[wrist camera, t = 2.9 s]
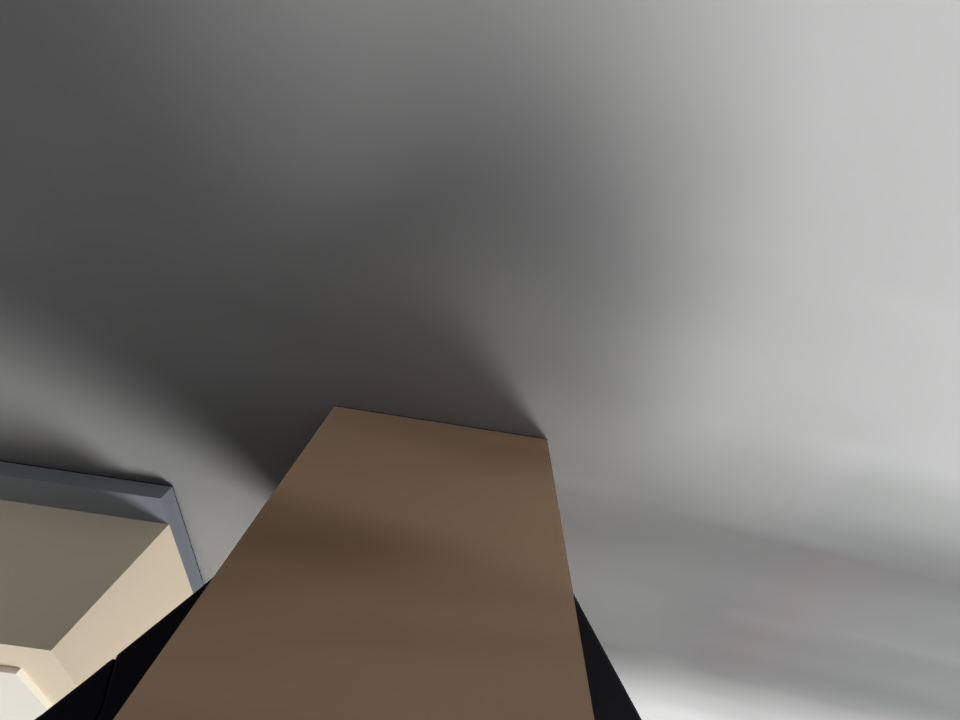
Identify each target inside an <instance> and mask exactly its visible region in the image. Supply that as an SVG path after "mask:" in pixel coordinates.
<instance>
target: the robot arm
mask: <svg viewBox="0 0 960 720" xmlns="http://www.w3.org/2000/svg"><path fill="white" fill-rule="evenodd" d="M212 579H213V578H212ZM212 579H211V580H212ZM211 580H210V581H208V582H207V583H206V584H205V585H203V586H202V587H201V588H200V589H198V590H197V591H196V592H195V593H193V594H192V595H191V596H190V597H188V598H187V599H186V600H185V601H183V602H182V603H181V604H180V605H179V606H177V607H176V608H175V609H174V610H172V611H171V612H170V613H169V614H167V615H166V616H165V617H164V618H162V619H161V620H160V621H159V622H157V623H156V624H155V625H154V626H152V627H151V628H150V629H149V630H147V631H146V632H145V633H144V634H143V635H141V636H140V637H139V638H138V639H136V640H135V641H134V642H133V643H131V644H130V645H129V646H128V647H126V648H125V649H124V650H123V651H121V652H120V653H119V654H118V655H117V656H116V659H112V660H110V661H109V662H107V663H106V664H105V665H104V666H103V667H101V668H100V669H99V670H98V671H96V672H95V673H94V674H93V675H91V676H90V677H89V678H88V679H86V680H85V681H84V682H83V683H81V684H80V685H79V686H77V687H76V688H75V689H74V690H72V691H71V692H70V693H68V694H67V695H66V696H65V697H63V698H62V699H61V700H60V701H58V702H57V703H56V704H54V705H53V706H52V707H51V708H49V709H48V710H47V711H45V712H44V713H43V714H42V715H40V716H39V717H37V718H36V719H35V720H113V719H114V718H115V716H116V715H117V713H118V712H119V711H120V709H121V708H122V706H123V705H124V703H125V702H126V701H127V699H128V698H129V696H130V695H131V694H132V692H133V691H134V689H135V688H136V686H137V685H138V684H139V682H140V681H141V679H142V678H143V677H144V675H145V674H146V672H147V671H148V669H149V668H150V667H151V665H152V664H153V662H154V661H155V660H156V658H157V657H158V655H159V654H160V652H161V651H162V650H163V648H164V647H165V645H166V644H167V642H168V641H169V640H170V638H171V637H172V635H173V634H174V633H175V631H176V630H177V628H178V627H179V625H180V624H181V623H182V621H183V620H184V618H185V617H186V616H187V614H188V613H189V611H190V610H191V608H192V607H193V606H194V604H195V603H196V601H197V600H198V599H199V597H200V596H201V594H202V593H203V591H204V590H205V589H206V587H207V586H208V584H209V583H210V582H211ZM573 596H574V594H573ZM574 602H575V608H576V614H577V620H578V626H579V632H580V638H581V644H582V650H583V656H584V661H585V667H586V673H587V679H588V685H589V691H590V697H591V703H592V709H593V715H594V720H641V718H640V716H639V714H638V712H637V710H636V709H635V707H634V705H633V703H632V701H631V699H630V698H629V696H628V694H627V692H626V690H625V688H624V686H623V685H622V683H621V681H620V679H619V677H618V675H617V673H616V672H615V670H614V668H613V666H612V664H611V662H610V660H609V659H608V657H607V655H606V653H605V651H604V649H603V648H602V646H601V644H600V642H599V640H598V638H597V636H596V635H595V633H594V631H593V629H592V627H591V625H590V623H589V622H588V620H587V618H586V616H585V614H584V612H583V611H582V609H581V607H580V605H579V603H578V601H577V599H576V598H575V596H574Z"/></svg>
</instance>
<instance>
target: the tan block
mask: <svg viewBox="0 0 960 720" xmlns="http://www.w3.org/2000/svg"><path fill="white" fill-rule="evenodd" d="M113 720H594V715H593V709H592V703H591V697H590V691H589V685H588V679H587V673H586V667H585V661H584V656H583V650H582V644H581V638H580V632H579V626H578V620H577V614H576V608H575V602H574V596H573V590H572V584H571V579H570V573H569V567H568V561H567V555H566V549H565V543H564V537H563V531H562V525H561V519H560V513H559V508H558V502H557V496H556V490H555V484H554V478H553V472H552V466H551V460H550V454H549V448H548V442H547V439H541V438H535V437H529V436H522V435H516V434H509V433H503V432H497V431H490V430H484V429H477V428H471V427H465V426H458V425H452V424H445V423H439V422H432V421H426V420H420V419H413V418H407V417H400V416H394V415H388V414H381V413H375V412H368V411H362V410H355V409H349V408H343V407H336V406H334V407H333V409H332V410H331V412H330V413H329V414H328V416H327V417H326V419H325V420H324V421H323V423H322V424H321V426H320V427H319V429H318V430H317V431H316V433H315V434H314V436H313V437H312V438H311V440H310V441H309V443H308V444H307V446H306V447H305V448H304V450H303V451H302V453H301V454H300V455H299V457H298V458H297V460H296V461H295V463H294V464H293V465H292V467H291V468H290V470H289V471H288V472H287V474H286V475H285V477H284V478H283V480H282V481H281V482H280V484H279V485H278V487H277V488H276V489H275V491H274V492H273V494H272V495H271V497H270V498H269V499H268V501H267V502H266V504H265V505H264V506H263V508H262V509H261V511H260V512H259V514H258V515H257V516H256V518H255V519H254V521H253V522H252V523H251V525H250V526H249V528H248V529H247V531H246V532H245V533H244V535H243V536H242V538H241V539H240V540H239V542H238V543H237V545H236V546H235V548H234V549H233V550H232V552H231V553H230V555H229V556H228V557H227V559H226V560H225V562H224V563H223V565H222V566H221V567H220V569H219V570H218V572H217V573H216V574H215V576H214V577H213V579H212V580H211V582H210V583H209V584H208V586H207V587H206V589H205V590H204V591H203V593H202V594H201V596H200V597H199V599H198V600H197V601H196V603H195V604H194V606H193V607H192V608H191V610H190V611H189V613H188V614H187V616H186V617H185V618H184V620H183V621H182V623H181V624H180V625H179V627H178V628H177V630H176V631H175V633H174V634H173V635H172V637H171V638H170V640H169V641H168V642H167V644H166V645H165V647H164V648H163V650H162V651H161V652H160V654H159V655H158V657H157V658H156V660H155V661H154V662H153V664H152V665H151V667H150V668H149V669H148V671H147V672H146V674H145V675H144V677H143V678H142V679H141V681H140V682H139V684H138V685H137V686H136V688H135V689H134V691H133V692H132V694H131V695H130V696H129V698H128V699H127V701H126V702H125V703H124V705H123V706H122V708H121V709H120V711H119V712H118V713H117V715H116V716H115V718H114V719H113Z"/></svg>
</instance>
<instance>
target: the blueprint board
mask: <svg viewBox="0 0 960 720" xmlns="http://www.w3.org/2000/svg"><path fill="white" fill-rule="evenodd" d="M202 586H203V582H202V579H201V575H200V572H199V569H198V566H197V563H196V560H195V557H194V553H193V550H192V547H191V544H190V541H189V538H188V535H187V531H186V528H185V525H184V522H183V519H182V516H181V513H180V509H179V506H178V503H177V500H176V497H175V494H174V491H173V488H172V487H169V486H162V485H156V484H149V483H142V482H135V481H129V480H122V479H115V478H109V477H102V476H95V475H88V474H82V473H75V472H68V471H61V470H55V469H48V468H41V467H34V466H28V465H21V464H14V463H7V462H1V461H0V720H35V719H36V718H37V717H39V716H40V715H42V714H43V713H44V712H45V711H47V710H48V709H49V708H51V707H52V706H53V705H54V704H56V703H57V702H58V701H60V700H61V699H62V698H63V697H65V696H66V695H67V694H68V693H70V692H71V691H72V690H74V689H75V688H76V687H77V686H79V685H80V684H81V683H83V682H84V681H85V680H86V679H88V678H89V677H90V676H91V675H93V674H94V673H95V672H96V671H98V670H99V669H100V668H101V667H103V666H104V665H105V664H106V663H107V662H109V661H110V660H112V659H116V656H117V655H118V654H119V653H120V652H121V651H123V650H124V649H125V648H126V647H128V646H129V645H130V644H131V643H133V642H134V641H135V640H136V639H138V638H139V637H140V636H141V635H143V634H144V633H145V632H146V631H147V630H149V629H150V628H151V627H152V626H154V625H155V624H156V623H157V622H159V621H160V620H161V619H162V618H164V617H165V616H166V615H167V614H169V613H170V612H171V611H172V610H174V609H175V608H176V607H177V606H179V605H180V604H181V603H182V602H183V601H185V600H186V599H187V598H188V597H190V596H191V595H192V594H193V593H195V592H196V591H197V590H198V589H200V588H201V587H202Z"/></svg>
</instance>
